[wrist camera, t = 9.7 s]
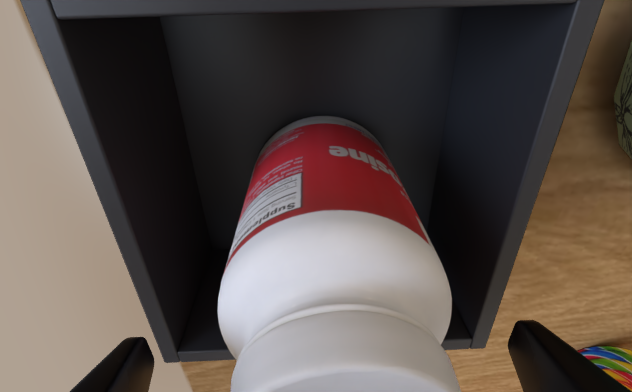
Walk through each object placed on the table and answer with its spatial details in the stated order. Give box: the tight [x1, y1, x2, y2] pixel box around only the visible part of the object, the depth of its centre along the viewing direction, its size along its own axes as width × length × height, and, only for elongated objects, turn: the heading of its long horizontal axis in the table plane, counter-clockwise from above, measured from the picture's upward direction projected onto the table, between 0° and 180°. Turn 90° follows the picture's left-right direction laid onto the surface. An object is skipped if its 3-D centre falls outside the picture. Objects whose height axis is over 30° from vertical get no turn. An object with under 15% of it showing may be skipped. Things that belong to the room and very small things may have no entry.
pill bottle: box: [217, 116, 461, 392], centre depth 11 cm, size 6×6×11 cm
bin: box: [20, 0, 604, 363], centre depth 13 cm, size 12×12×7 cm
